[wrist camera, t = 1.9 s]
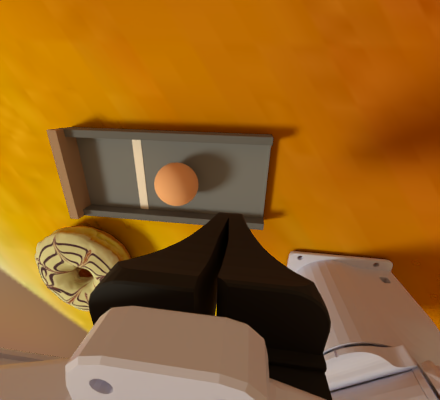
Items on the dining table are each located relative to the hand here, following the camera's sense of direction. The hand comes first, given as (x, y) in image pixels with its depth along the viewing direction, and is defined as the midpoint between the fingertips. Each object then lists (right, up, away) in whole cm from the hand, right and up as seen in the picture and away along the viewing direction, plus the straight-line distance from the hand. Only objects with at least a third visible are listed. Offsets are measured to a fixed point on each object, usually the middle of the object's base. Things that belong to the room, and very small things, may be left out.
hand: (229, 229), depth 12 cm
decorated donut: (-15, -5, +15) cm, 22 cm away
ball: (-4, +3, +7) cm, 8 cm away
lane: (-5, +4, +9) cm, 11 cm away
